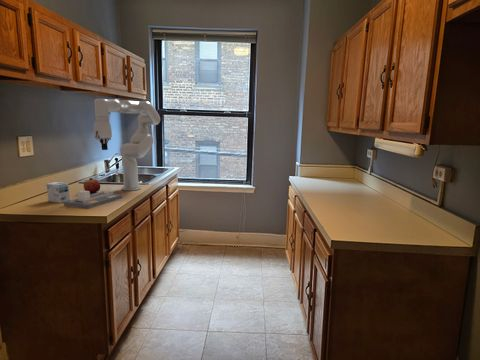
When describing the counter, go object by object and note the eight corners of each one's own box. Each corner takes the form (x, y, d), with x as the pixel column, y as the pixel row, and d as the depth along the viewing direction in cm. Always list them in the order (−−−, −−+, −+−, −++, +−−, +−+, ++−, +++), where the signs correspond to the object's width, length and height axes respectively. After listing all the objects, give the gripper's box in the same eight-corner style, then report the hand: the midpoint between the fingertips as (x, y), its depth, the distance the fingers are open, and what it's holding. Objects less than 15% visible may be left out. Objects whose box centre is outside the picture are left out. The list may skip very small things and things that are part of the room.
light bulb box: (70, 200, 191) (68, 182, 189) (60, 203, 185) (58, 184, 183) (58, 198, 195) (56, 181, 193) (47, 201, 189) (45, 183, 187)
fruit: (101, 193, 209) (100, 178, 207) (84, 195, 205) (83, 179, 203) (100, 190, 218) (99, 176, 217) (83, 192, 214) (82, 177, 212)
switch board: (99, 195, 204) (99, 190, 203) (122, 198, 198) (121, 192, 197) (63, 205, 180) (63, 199, 180) (88, 208, 174) (87, 202, 173)
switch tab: (83, 199, 185) (82, 190, 184) (90, 200, 183) (89, 191, 182) (77, 200, 181) (77, 191, 180) (84, 201, 179) (83, 192, 178)
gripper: (106, 119, 204) (108, 148, 207) (88, 119, 190) (90, 150, 193) (116, 119, 201) (118, 149, 204) (97, 119, 187) (100, 151, 191)
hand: (104, 149), depth 199 cm, fingers closed
